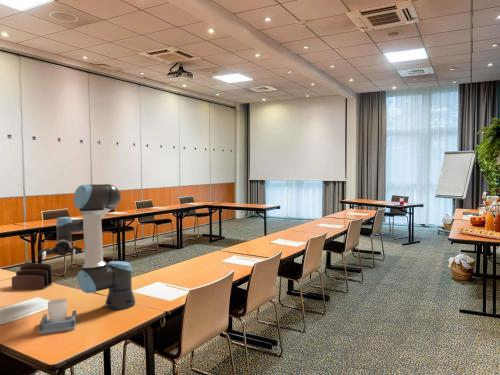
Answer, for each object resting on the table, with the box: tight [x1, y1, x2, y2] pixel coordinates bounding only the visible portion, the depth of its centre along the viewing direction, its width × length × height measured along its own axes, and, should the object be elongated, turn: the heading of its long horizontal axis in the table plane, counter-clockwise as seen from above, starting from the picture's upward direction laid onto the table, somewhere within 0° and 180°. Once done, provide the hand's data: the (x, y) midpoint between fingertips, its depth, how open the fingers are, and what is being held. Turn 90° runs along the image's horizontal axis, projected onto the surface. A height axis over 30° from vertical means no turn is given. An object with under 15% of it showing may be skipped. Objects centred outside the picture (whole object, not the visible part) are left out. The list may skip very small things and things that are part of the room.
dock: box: [38, 310, 77, 335], centre depth 175 cm, size 14×14×4 cm
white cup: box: [47, 298, 68, 323], centre depth 175 cm, size 8×8×10 cm
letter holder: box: [11, 262, 53, 290], centre depth 237 cm, size 10×20×14 cm, turn 89°
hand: (58, 255), depth 188 cm, fingers open, 13 cm apart
